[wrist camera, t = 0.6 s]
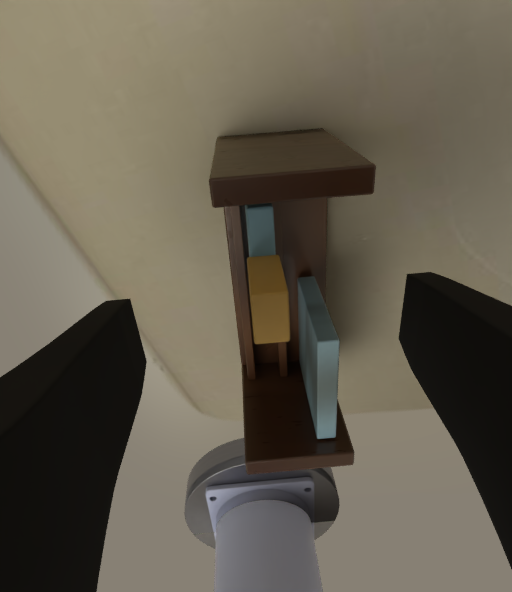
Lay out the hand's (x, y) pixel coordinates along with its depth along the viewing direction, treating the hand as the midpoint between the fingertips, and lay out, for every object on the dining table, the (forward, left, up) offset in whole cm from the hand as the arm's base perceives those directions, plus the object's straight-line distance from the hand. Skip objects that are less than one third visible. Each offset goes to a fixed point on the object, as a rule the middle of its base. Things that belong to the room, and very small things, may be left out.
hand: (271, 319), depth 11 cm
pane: (0, 0, -7) cm, 7 cm away
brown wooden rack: (-3, -1, -9) cm, 9 cm away
